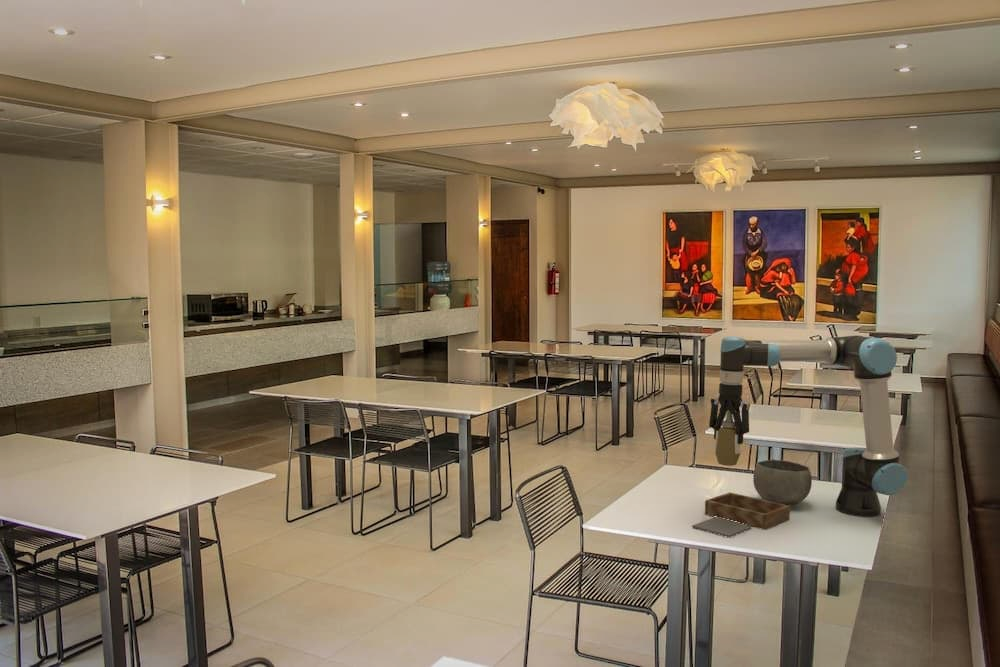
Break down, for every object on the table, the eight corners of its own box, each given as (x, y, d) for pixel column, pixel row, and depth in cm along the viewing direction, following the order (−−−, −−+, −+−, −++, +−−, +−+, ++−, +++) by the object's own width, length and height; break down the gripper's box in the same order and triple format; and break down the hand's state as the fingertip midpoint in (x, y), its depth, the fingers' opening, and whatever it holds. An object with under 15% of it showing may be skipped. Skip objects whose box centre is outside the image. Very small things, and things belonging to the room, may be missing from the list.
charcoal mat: (751, 529, 278) (751, 526, 278) (729, 537, 268) (729, 535, 268) (714, 519, 288) (714, 517, 288) (692, 527, 278) (692, 525, 278)
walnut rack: (789, 520, 288) (789, 505, 288) (765, 529, 277) (766, 515, 277) (729, 505, 305) (729, 492, 305) (704, 514, 294) (705, 500, 293)
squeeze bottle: (722, 467, 274) (725, 413, 272) (710, 461, 282) (712, 409, 280) (744, 466, 276) (746, 413, 275) (731, 461, 284) (734, 409, 282)
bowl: (800, 515, 294) (802, 473, 293) (744, 505, 306) (745, 465, 305) (817, 503, 310) (819, 463, 309) (763, 493, 323) (765, 455, 322)
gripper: (699, 380, 281) (696, 447, 283) (751, 387, 267) (747, 458, 269) (712, 379, 286) (709, 445, 288) (763, 385, 272) (759, 455, 274)
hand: (727, 451), depth 278 cm, fingers closed on squeeze bottle, 6 cm apart
